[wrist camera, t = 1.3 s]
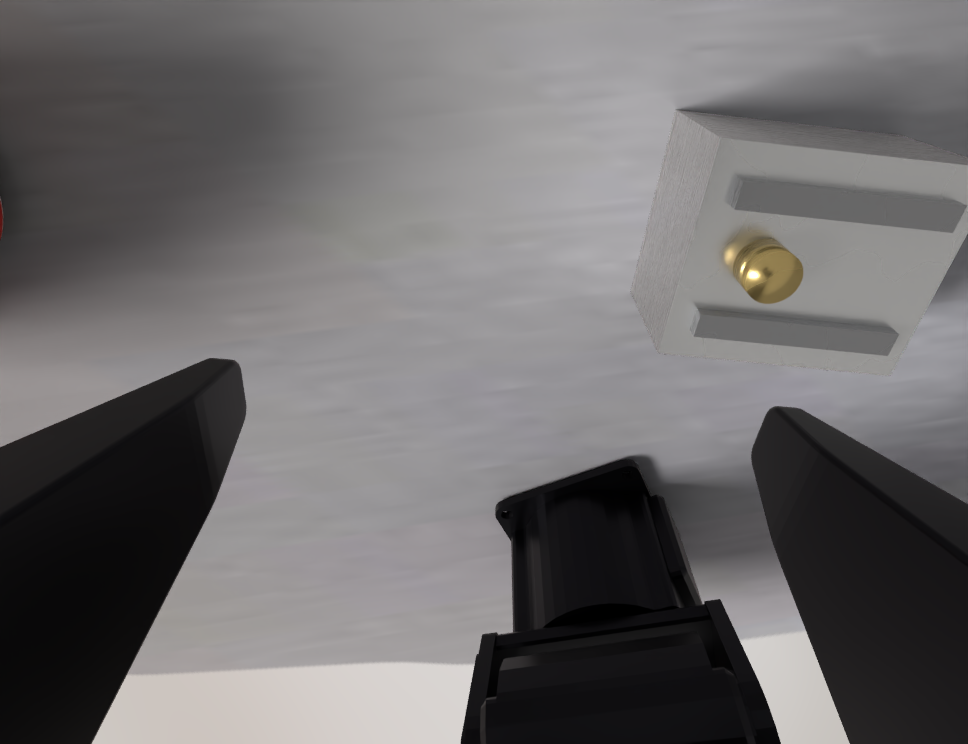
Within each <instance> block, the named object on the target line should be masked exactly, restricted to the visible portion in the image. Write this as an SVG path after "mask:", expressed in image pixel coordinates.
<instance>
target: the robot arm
mask: <svg viewBox="0 0 968 744" xmlns="http://www.w3.org/2000/svg"><path fill="white" fill-rule="evenodd" d="M245 416H246V400H245V393H244V387H243V380H242V373H241V368H240V366H239V364H238V363H237V362H236V361H235V360H229V359H217V358H209V359H206V360H204V361H201V362H199V363H197V364H194V365H192V366H190V367H187V368H185V369H183V370H180V371H178V372H176V373H173V374H171V375H169V376H166V377H164V378H162V379H159V380H157V381H155V382H152V383H150V384H147V385H145V386H143V387H140V388H138V389H136V390H133V391H131V392H129V393H126V394H124V395H122V396H119V397H117V398H115V399H112V400H110V401H108V402H105V403H103V404H101V405H98V406H96V407H94V408H91V409H89V410H87V411H84V412H82V413H80V414H77V415H75V416H73V417H70V418H68V419H66V420H63V421H61V422H58V423H56V424H54V425H51V426H49V427H47V428H44V429H42V430H40V431H37V432H35V433H33V434H30V435H28V436H26V437H23V438H21V439H19V440H16V441H14V442H12V443H9V444H7V445H5V446H2V447H0V744H92V742H93V740H94V738H95V736H96V734H97V732H98V730H99V728H100V726H101V724H102V722H103V720H104V718H105V716H106V715H107V713H108V711H109V709H110V707H111V705H112V703H113V701H114V699H115V697H116V695H117V693H118V691H119V689H120V687H121V685H122V683H123V681H124V679H125V677H126V675H127V673H128V671H129V669H130V667H131V666H132V664H133V662H134V660H135V658H136V656H137V654H138V652H139V650H140V648H141V646H142V644H143V642H144V640H145V638H146V636H147V634H148V632H149V630H150V628H151V626H152V624H153V622H154V620H155V618H156V617H157V615H158V613H159V611H160V609H161V607H162V605H163V603H164V601H165V599H166V597H167V595H168V593H169V591H170V589H171V587H172V585H173V583H174V581H175V579H176V577H177V575H178V573H179V571H180V569H181V567H182V566H183V564H184V562H185V560H186V558H187V556H188V554H189V552H190V550H191V548H192V546H193V544H194V542H195V540H196V538H197V536H198V534H199V532H200V530H201V528H202V526H203V524H204V522H205V520H206V518H207V517H208V514H209V512H210V510H211V508H212V506H213V504H214V502H215V499H216V497H217V494H218V492H219V489H220V487H221V484H222V481H223V478H224V476H225V473H226V470H227V467H228V465H229V462H230V459H231V456H232V454H233V451H234V448H235V445H236V443H237V440H238V437H239V434H240V432H241V429H242V426H243V423H244V420H245ZM751 459H752V465H753V469H754V473H755V477H756V481H757V485H758V489H759V492H760V496H761V500H762V504H763V508H764V512H765V516H766V519H767V523H768V527H769V531H770V535H771V538H772V541H773V545H774V548H775V550H776V553H777V556H778V559H779V562H780V564H781V567H782V569H783V572H784V575H785V577H786V580H787V582H788V585H789V587H790V590H791V593H792V595H793V598H794V600H795V603H796V606H797V608H798V611H799V613H800V616H801V618H802V621H803V624H804V626H805V629H806V631H807V634H808V637H809V639H810V642H811V644H812V647H813V649H814V652H815V655H816V657H817V660H818V662H819V665H820V668H821V670H822V673H823V675H824V678H825V681H826V683H827V686H828V688H829V691H830V693H831V696H832V699H833V701H834V704H835V706H836V709H837V712H838V714H839V717H840V719H841V722H842V725H843V727H844V730H845V732H846V735H847V737H848V740H849V743H850V744H968V504H966V503H965V502H963V501H961V500H959V499H958V498H956V497H954V496H952V495H951V494H949V493H947V492H945V491H944V490H942V489H940V488H938V487H937V486H935V485H933V484H931V483H930V482H928V481H926V480H924V479H923V478H921V477H919V476H917V475H916V474H914V473H912V472H910V471H909V470H907V469H905V468H903V467H902V466H900V465H898V464H896V463H895V462H893V461H891V460H889V459H888V458H886V457H884V456H882V455H881V454H879V453H877V452H875V451H874V450H872V449H870V448H868V447H867V446H865V445H863V444H861V443H860V442H858V441H856V440H854V439H853V438H851V437H849V436H847V435H846V434H844V433H842V432H840V431H839V430H837V429H835V428H833V427H832V426H830V425H828V424H826V423H825V422H823V421H821V420H819V419H818V418H816V417H814V416H812V415H811V414H809V413H807V412H805V411H804V410H802V409H799V408H792V407H780V406H775V407H773V408H771V409H770V410H769V411H768V412H767V414H766V416H765V418H764V421H763V423H762V425H761V428H760V430H759V433H758V435H757V438H756V440H755V443H754V445H753V448H752V454H751ZM628 470H630V471H631V472H629V473H623V472H625V471H628ZM503 511H510V512H507V513H506V512H503ZM495 515H496V518H497V520H498V521H499V523H500V525H501V526H502V528H503V529H504V531H505V532H506V534H507V535H508V537H509V539H510V540H511V548H512V598H513V633H507V634H500V635H498V634H497V632H496V633H489V634H483V635H482V639H481V644H480V650H479V654H477V656H476V661H475V666H474V672H473V677H472V682H471V688H470V694H469V699H468V705H467V710H466V716H465V721H464V726H463V732H462V737H461V744H781V742H780V739H779V736H778V733H777V729H776V726H775V723H774V720H773V717H772V715H771V712H770V709H769V706H768V703H767V701H766V698H765V696H764V693H763V690H762V688H761V686H760V684H759V681H758V679H757V677H756V675H755V673H754V671H753V668H752V666H751V664H750V662H749V660H748V658H747V656H746V653H745V651H744V649H743V647H742V645H741V643H740V641H739V638H738V636H737V634H736V632H735V630H734V628H733V626H732V623H731V621H730V619H729V617H728V615H727V613H726V611H725V609H724V606H723V604H722V602H721V600H720V599H718V600H711V601H704V603H705V604H702V601H701V598H700V595H699V592H698V589H697V586H696V583H695V580H694V577H693V574H692V571H691V568H690V565H689V562H688V559H687V556H686V553H685V550H684V547H683V544H682V541H681V538H680V535H679V533H678V530H677V528H676V526H675V523H674V521H673V519H672V517H671V514H670V512H669V510H668V507H667V505H666V503H665V500H664V498H663V497H661V496H659V495H654V496H651V494H650V491H649V489H648V487H647V485H646V483H645V480H644V478H643V476H642V474H641V471H640V469H639V467H638V465H637V464H636V462H634V461H632V460H622V461H619V462H616V463H613V464H610V465H607V466H604V467H601V468H598V469H595V470H592V471H589V472H586V473H583V474H580V475H577V476H574V477H571V478H568V479H565V480H562V481H559V482H556V483H553V484H550V485H547V486H544V487H541V488H538V489H535V490H532V491H529V492H526V493H523V494H520V495H517V496H515V497H512V498H509V499H506V500H503V501H500V502H499V503H498V504H497V505H496V508H495Z"/></svg>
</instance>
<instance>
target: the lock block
mask: <svg viewBox="0 0 968 744" xmlns="http://www.w3.org/2000/svg"><path fill="white" fill-rule="evenodd" d="M967 234H968V157H965V156H962V155H959V154H956V153H953V152H950V151H947V150H944V149H941V148H938V147H935V146H932V145H929V144H926V143H923V142H920V141H917V140H914V139H911V138H908V137H905V136H903V135H896V134H887V133H878V132H869V131H861V130H852V129H843V128H834V127H825V126H816V125H807V124H798V123H790V122H781V121H772V120H763V119H754V118H745V117H736V116H727V115H718V114H710V113H701V112H692V111H683V110H675V114H674V118H673V122H672V126H671V130H670V134H669V138H668V142H667V146H666V150H665V154H664V158H663V162H662V166H661V170H660V174H659V178H658V182H657V186H656V190H655V194H654V198H653V202H652V206H651V210H650V214H649V218H648V222H647V227H646V231H645V235H644V239H643V243H642V247H641V251H640V255H639V259H638V263H637V267H636V271H635V275H634V279H633V283H632V287H631V291H630V292H631V295H632V297H633V299H634V301H635V303H636V306H637V308H638V310H639V312H640V315H641V317H642V319H643V321H644V323H645V326H646V328H647V330H648V332H649V335H650V337H651V339H652V341H653V343H654V346H655V348H656V350H657V352H658V353H659V354H670V355H680V356H690V357H700V358H711V359H721V360H731V361H741V362H752V363H762V364H772V365H782V366H793V367H803V368H813V369H823V370H834V371H844V372H854V373H864V374H875V375H885V376H891V374H892V372H893V370H894V369H895V367H896V365H897V363H898V361H899V359H900V357H901V356H902V354H903V352H904V350H905V348H906V346H907V345H908V343H909V341H910V339H911V337H912V335H913V333H914V332H915V330H916V328H917V326H918V324H919V322H920V321H921V319H922V317H923V315H924V313H925V311H926V309H927V308H928V306H929V304H930V302H931V300H932V298H933V297H934V295H935V293H936V291H937V289H938V287H939V286H940V284H941V282H942V280H943V278H944V276H945V274H946V273H947V271H948V269H949V267H950V265H951V263H952V262H953V260H954V258H955V256H956V254H957V252H958V250H959V249H960V247H961V245H962V243H963V241H964V239H965V238H966V236H967Z"/></svg>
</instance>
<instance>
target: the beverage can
mask: <svg viewBox="0 0 968 744" xmlns="http://www.w3.org/2000/svg"><path fill="white" fill-rule="evenodd" d="M2 231H3V209H2V203H1V198H0V239H1V236H2Z"/></svg>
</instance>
